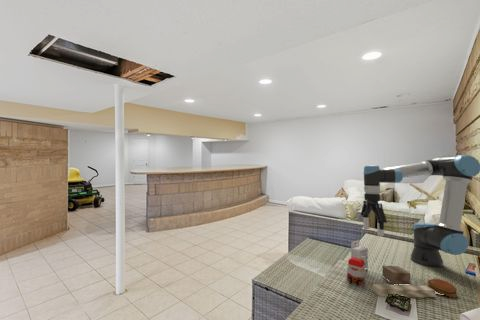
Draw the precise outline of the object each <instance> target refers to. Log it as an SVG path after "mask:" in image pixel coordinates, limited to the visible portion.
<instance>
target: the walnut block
mask: <svg viewBox="0 0 480 320" xmlns="http://www.w3.org/2000/svg"><path fill="white" fill-rule="evenodd" d="M383 276H384V277H385V278H386V279H388V280H389V281H390V282H391V283H392V284H393V285H394V284H398V285H399V284H411V272H410V271H407V270H406V269H404V268H403V267H401V266H399V265H382V277H383ZM386 279H385V280H386ZM390 282H389V283H390ZM391 283H390V284H391ZM392 284H391V285H392Z"/></svg>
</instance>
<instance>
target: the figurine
mask: <svg viewBox="0 0 480 320" xmlns="http://www.w3.org/2000/svg"><path fill="white" fill-rule="evenodd" d="M365 260H366V257H365V256H361V259H358V258H354V257H352V258H351V257H350V258H349V259H348V263H347V266H348V267H347V273H346V274H347V275H346V278H347V280H348V281H349V284H355V285H356V286H358V287H359V286H362V285H363V284H364V283H365V281H366V277H365V276H366V275H367V274H366V273H367V272H366V271H367V270H365V268H364V267H365V263H364V261H365Z"/></svg>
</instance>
